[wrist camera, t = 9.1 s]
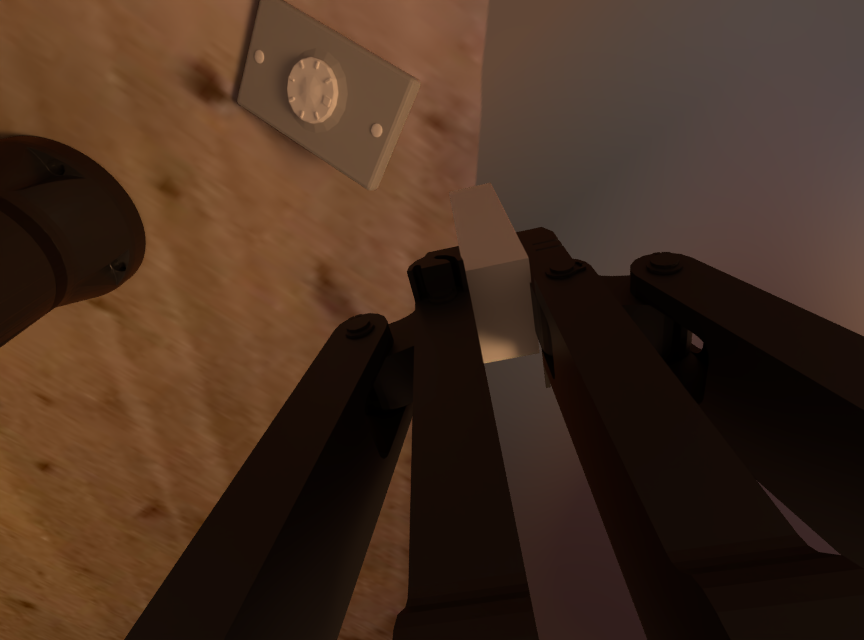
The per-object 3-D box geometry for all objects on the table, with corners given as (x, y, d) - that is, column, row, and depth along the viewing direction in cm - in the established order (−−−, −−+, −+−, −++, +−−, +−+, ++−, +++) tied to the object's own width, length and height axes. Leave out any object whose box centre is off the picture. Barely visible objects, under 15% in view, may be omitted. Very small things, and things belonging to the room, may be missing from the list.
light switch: (251, -17, 32) (409, 76, 29) (305, 10, 37) (443, 90, 34) (226, 101, 36) (362, 192, 33) (277, 110, 41) (399, 189, 38)
